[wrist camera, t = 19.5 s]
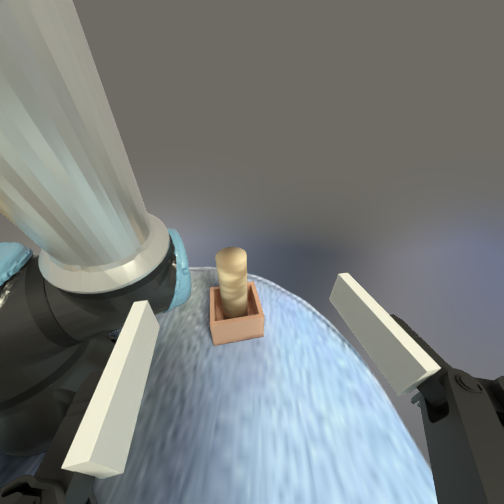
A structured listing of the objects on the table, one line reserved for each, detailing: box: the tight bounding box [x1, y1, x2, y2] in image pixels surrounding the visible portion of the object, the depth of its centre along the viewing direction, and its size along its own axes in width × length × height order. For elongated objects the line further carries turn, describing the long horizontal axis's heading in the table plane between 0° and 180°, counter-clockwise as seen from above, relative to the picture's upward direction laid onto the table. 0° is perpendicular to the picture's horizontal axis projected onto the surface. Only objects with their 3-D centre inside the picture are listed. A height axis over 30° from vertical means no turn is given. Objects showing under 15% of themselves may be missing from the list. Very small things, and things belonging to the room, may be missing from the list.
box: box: [210, 281, 264, 346], centre depth 37 cm, size 10×10×6 cm
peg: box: [215, 247, 248, 320], centre depth 33 cm, size 5×5×16 cm
